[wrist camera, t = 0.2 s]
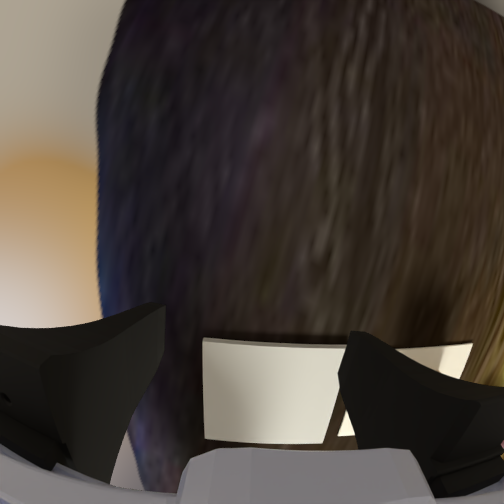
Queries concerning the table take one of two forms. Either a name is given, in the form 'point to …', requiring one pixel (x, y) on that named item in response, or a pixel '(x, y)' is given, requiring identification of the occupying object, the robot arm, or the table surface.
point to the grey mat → (269, 390)
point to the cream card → (436, 358)
